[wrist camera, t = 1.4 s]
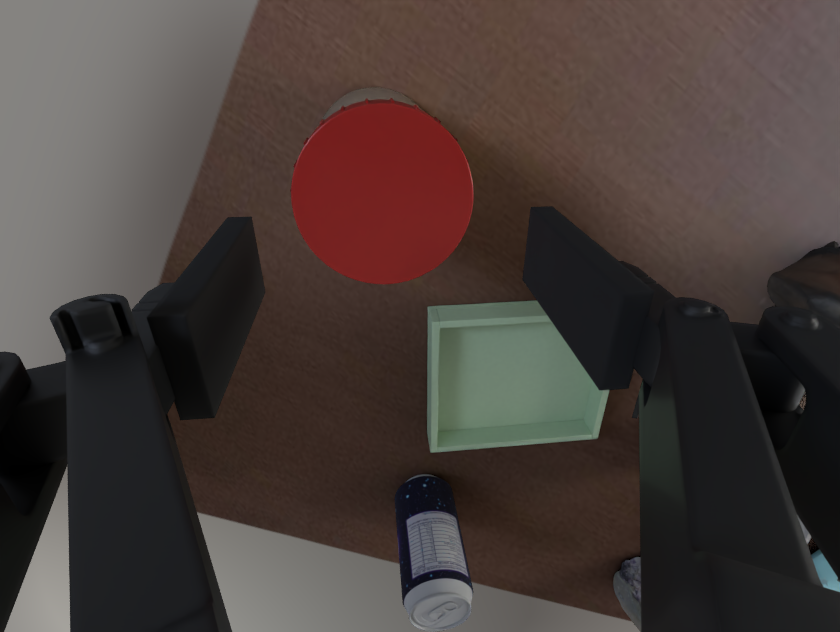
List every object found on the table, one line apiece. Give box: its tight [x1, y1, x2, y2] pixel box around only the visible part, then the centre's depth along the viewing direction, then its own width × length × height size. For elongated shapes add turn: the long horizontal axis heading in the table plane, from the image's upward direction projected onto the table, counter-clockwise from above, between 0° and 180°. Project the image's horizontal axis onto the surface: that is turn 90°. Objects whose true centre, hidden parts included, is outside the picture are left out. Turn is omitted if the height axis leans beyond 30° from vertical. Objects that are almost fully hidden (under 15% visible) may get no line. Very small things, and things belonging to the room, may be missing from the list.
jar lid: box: [291, 98, 474, 284], centre depth 22 cm, size 8×8×2 cm
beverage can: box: [395, 474, 473, 631], centre depth 42 cm, size 6×6×12 cm
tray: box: [427, 300, 609, 453], centre depth 40 cm, size 15×13×2 cm
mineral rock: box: [613, 557, 641, 632], centre depth 54 cm, size 13×11×10 cm
